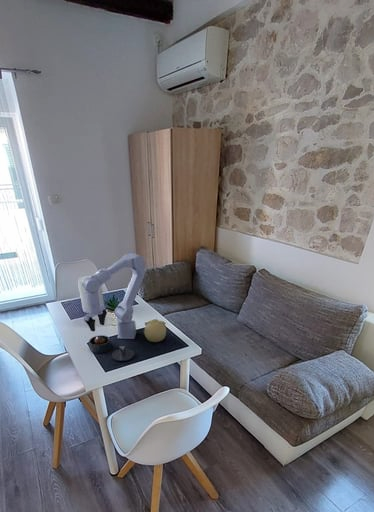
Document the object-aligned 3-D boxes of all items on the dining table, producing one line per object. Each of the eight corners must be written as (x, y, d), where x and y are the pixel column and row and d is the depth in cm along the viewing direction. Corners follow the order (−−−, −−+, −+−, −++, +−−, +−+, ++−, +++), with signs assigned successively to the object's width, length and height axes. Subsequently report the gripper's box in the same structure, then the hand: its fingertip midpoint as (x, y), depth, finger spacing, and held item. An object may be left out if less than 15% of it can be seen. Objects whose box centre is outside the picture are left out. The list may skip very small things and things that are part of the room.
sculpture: (166, 333, 173) (166, 316, 167) (165, 344, 163) (165, 326, 157) (146, 333, 172) (144, 315, 167) (144, 344, 162) (142, 326, 157)
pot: (112, 343, 163) (111, 335, 160) (108, 353, 154) (107, 345, 152) (93, 342, 163) (92, 335, 161) (88, 353, 155) (86, 345, 152)
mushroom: (103, 344, 161) (102, 333, 158) (106, 348, 158) (105, 338, 155) (94, 346, 159) (92, 336, 156) (97, 350, 156) (95, 340, 152)
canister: (101, 313, 193) (97, 282, 182) (80, 313, 193) (74, 281, 182) (106, 304, 205) (102, 275, 194) (86, 304, 205) (81, 274, 194)
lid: (134, 349, 158) (133, 340, 155) (135, 361, 149) (134, 352, 146) (112, 351, 156) (110, 342, 154) (111, 363, 147) (110, 354, 145)
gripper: (90, 309, 144) (95, 335, 151) (109, 299, 155) (112, 323, 162) (78, 307, 146) (83, 332, 153) (97, 296, 157) (101, 320, 165)
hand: (97, 327), depth 158 cm, fingers open, 7 cm apart
